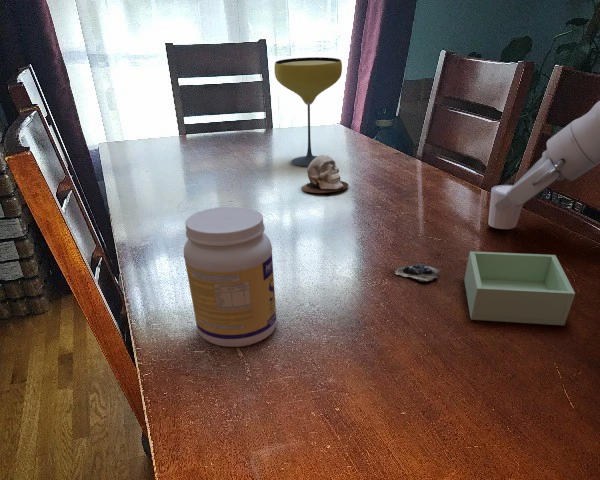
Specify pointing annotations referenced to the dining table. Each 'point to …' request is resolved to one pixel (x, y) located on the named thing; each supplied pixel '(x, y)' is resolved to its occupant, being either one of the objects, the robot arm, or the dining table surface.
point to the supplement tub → (230, 275)
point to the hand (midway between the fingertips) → (503, 201)
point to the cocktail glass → (308, 85)
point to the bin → (517, 288)
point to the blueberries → (418, 272)
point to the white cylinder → (507, 215)
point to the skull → (323, 176)
